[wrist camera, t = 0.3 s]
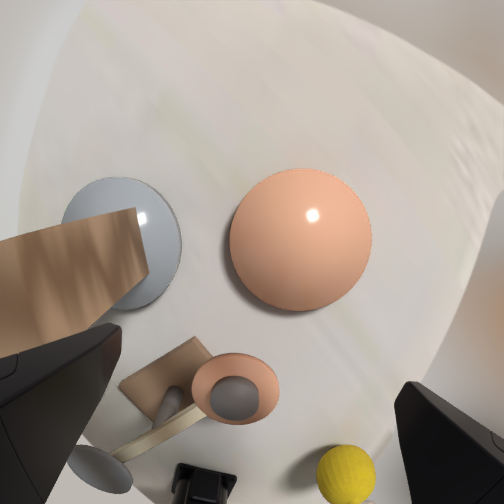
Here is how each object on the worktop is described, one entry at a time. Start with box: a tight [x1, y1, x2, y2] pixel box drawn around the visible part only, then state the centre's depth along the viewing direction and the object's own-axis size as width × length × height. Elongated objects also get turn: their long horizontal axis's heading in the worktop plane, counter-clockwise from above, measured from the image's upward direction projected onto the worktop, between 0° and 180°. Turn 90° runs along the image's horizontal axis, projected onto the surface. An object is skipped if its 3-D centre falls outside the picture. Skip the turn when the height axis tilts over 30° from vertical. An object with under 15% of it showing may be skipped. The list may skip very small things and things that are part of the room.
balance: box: [67, 336, 279, 494], centre depth 21 cm, size 19×6×9 cm, turn 125°
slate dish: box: [61, 177, 182, 310], centre depth 22 cm, size 10×10×1 cm
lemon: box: [316, 445, 376, 504], centre depth 23 cm, size 6×6×8 cm
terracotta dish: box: [230, 169, 372, 311], centre depth 22 cm, size 10×10×1 cm
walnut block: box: [0, 207, 150, 358], centre depth 16 cm, size 5×5×13 cm
